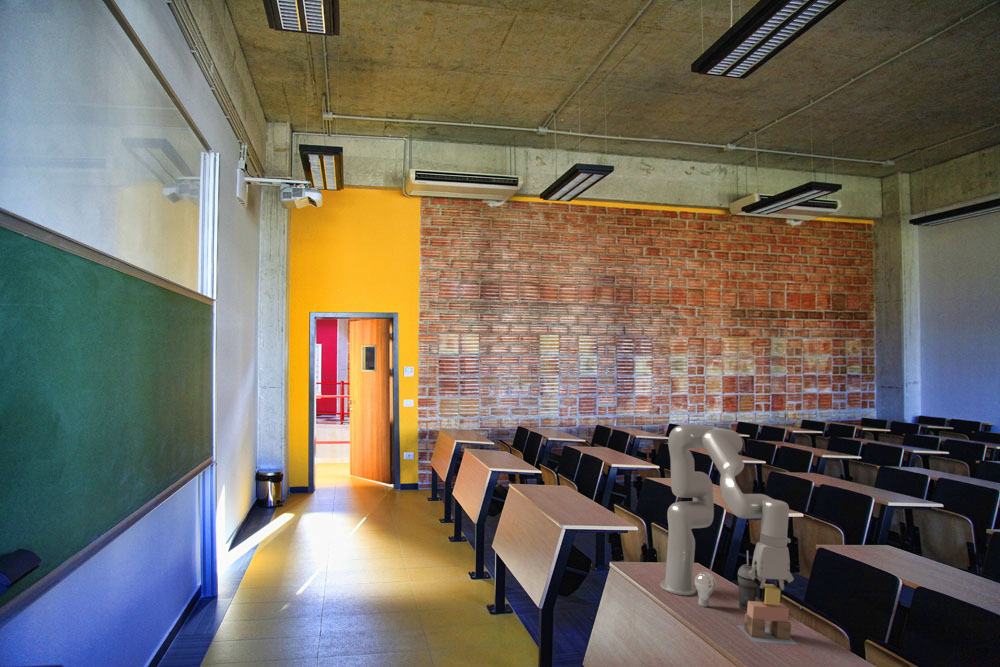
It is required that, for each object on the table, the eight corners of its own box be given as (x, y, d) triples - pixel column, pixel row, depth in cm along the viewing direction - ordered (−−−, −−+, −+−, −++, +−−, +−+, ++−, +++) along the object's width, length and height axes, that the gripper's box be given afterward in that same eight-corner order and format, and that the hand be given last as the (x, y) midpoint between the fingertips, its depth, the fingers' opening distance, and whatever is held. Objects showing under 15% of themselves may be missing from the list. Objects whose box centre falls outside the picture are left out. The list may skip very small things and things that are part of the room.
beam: (781, 616, 189) (782, 603, 189) (788, 622, 185) (789, 608, 185) (746, 613, 189) (747, 600, 189) (752, 619, 185) (753, 606, 185)
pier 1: (743, 629, 189) (745, 613, 189) (756, 630, 189) (757, 614, 189) (751, 637, 184) (752, 620, 184) (764, 638, 184) (765, 621, 184)
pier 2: (768, 631, 189) (770, 615, 189) (781, 632, 189) (782, 616, 189) (777, 638, 184) (778, 622, 184) (789, 639, 184) (791, 623, 184)
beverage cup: (746, 616, 202) (750, 555, 203) (729, 607, 208) (734, 548, 209) (762, 614, 205) (766, 554, 205) (745, 605, 211) (750, 547, 212)
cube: (758, 598, 189) (759, 583, 189) (772, 599, 189) (773, 584, 189) (765, 603, 185) (766, 588, 185) (779, 605, 185) (780, 590, 185)
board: (736, 627, 191) (736, 625, 192) (779, 630, 192) (779, 628, 192) (752, 644, 180) (752, 641, 181) (798, 647, 181) (798, 644, 181)
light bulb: (691, 609, 204) (694, 573, 204) (692, 602, 210) (695, 567, 211) (713, 613, 201) (716, 577, 202) (713, 606, 208) (716, 571, 208)
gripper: (793, 539, 192) (788, 597, 191) (741, 535, 191) (736, 594, 190) (806, 546, 184) (802, 607, 184) (752, 542, 184) (747, 603, 183)
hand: (768, 600), depth 187 cm, fingers closed on cube, 4 cm apart
